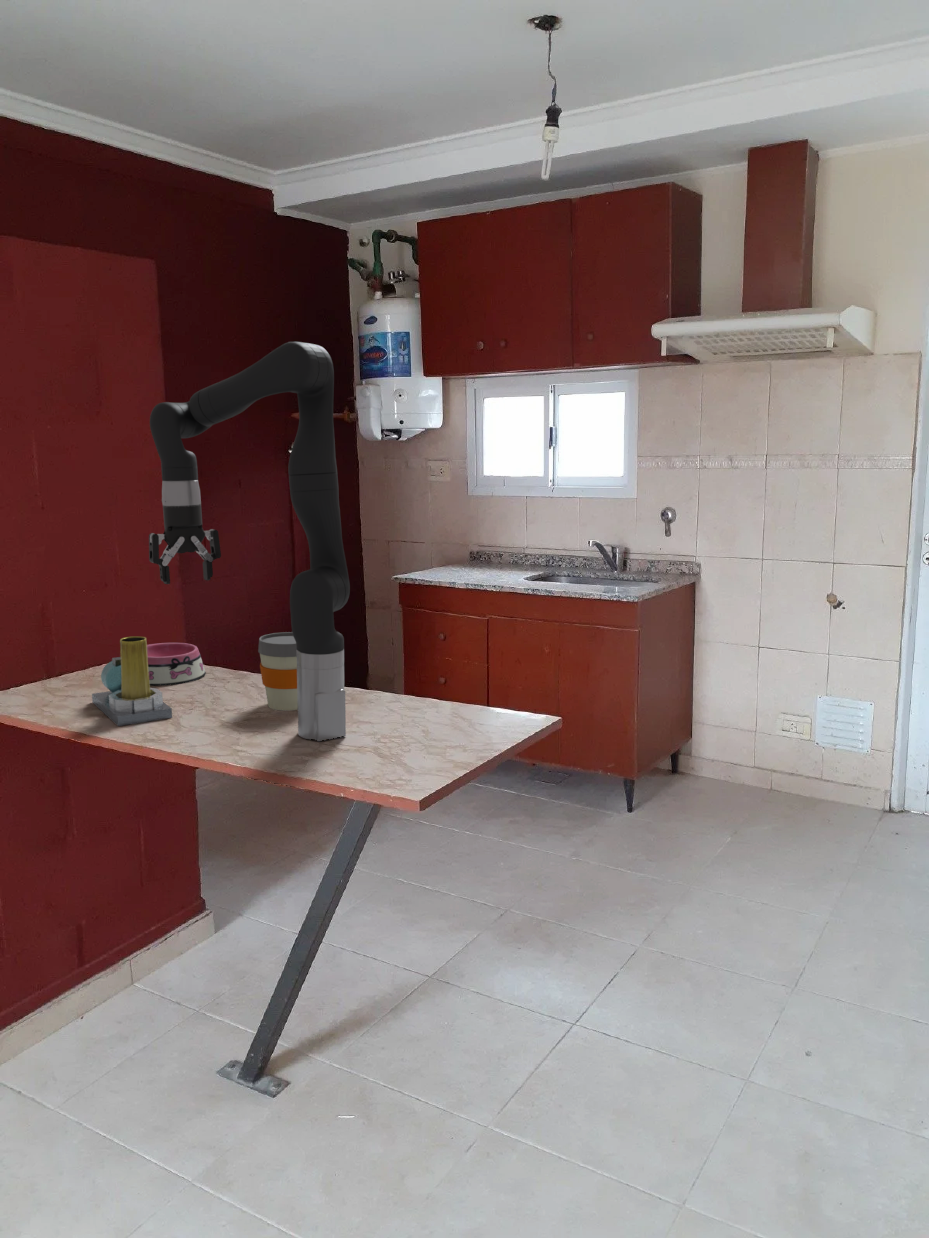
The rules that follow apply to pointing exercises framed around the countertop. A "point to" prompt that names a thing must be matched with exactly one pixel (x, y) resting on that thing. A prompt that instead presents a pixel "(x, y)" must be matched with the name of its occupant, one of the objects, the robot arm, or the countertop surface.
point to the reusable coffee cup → (279, 670)
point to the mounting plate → (129, 716)
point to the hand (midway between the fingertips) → (187, 581)
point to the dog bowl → (174, 664)
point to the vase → (134, 668)
